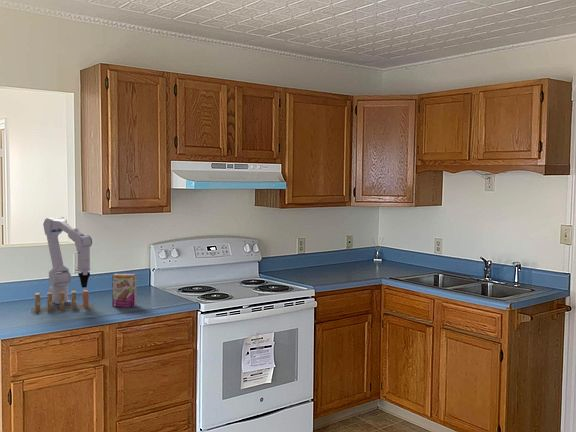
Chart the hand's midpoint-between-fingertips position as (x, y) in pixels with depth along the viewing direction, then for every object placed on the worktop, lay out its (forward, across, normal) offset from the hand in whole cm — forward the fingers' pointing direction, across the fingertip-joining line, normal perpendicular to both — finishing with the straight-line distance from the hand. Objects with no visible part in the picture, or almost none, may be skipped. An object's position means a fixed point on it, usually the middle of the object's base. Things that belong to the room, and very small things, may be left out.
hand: (84, 287), depth 290 cm
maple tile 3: (+10, -1, -10) cm, 14 cm away
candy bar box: (+11, +4, +19) cm, 22 cm away
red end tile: (+10, 0, +1) cm, 10 cm away
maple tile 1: (+10, -1, -21) cm, 24 cm away
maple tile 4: (+10, 0, -5) cm, 11 cm away
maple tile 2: (+10, -1, -16) cm, 19 cm away
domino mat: (+10, -1, -10) cm, 14 cm away
